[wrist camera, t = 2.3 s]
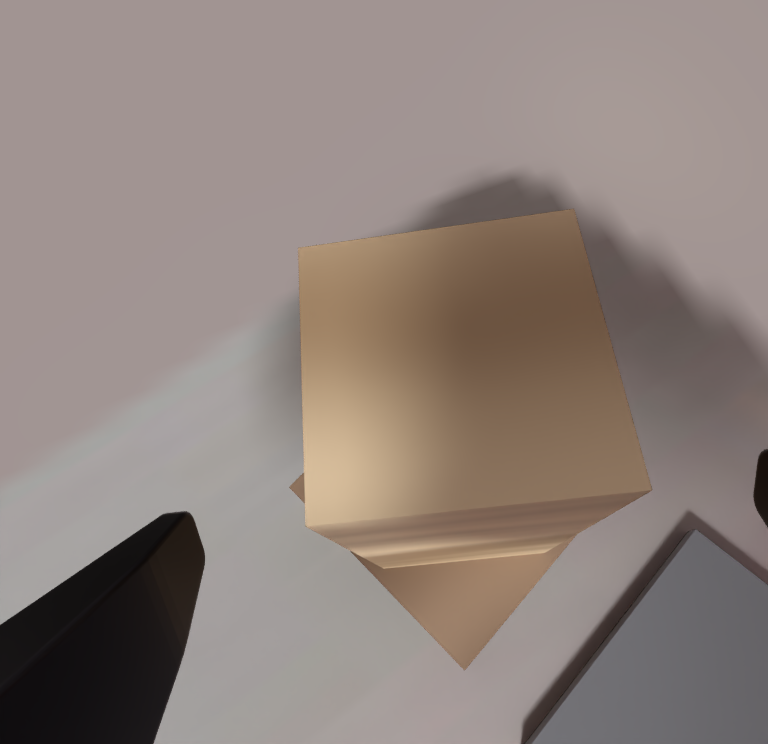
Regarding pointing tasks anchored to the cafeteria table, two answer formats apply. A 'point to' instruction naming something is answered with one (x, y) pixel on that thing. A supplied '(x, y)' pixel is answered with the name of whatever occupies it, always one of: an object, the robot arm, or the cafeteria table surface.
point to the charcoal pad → (676, 661)
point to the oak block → (461, 393)
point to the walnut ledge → (461, 593)
